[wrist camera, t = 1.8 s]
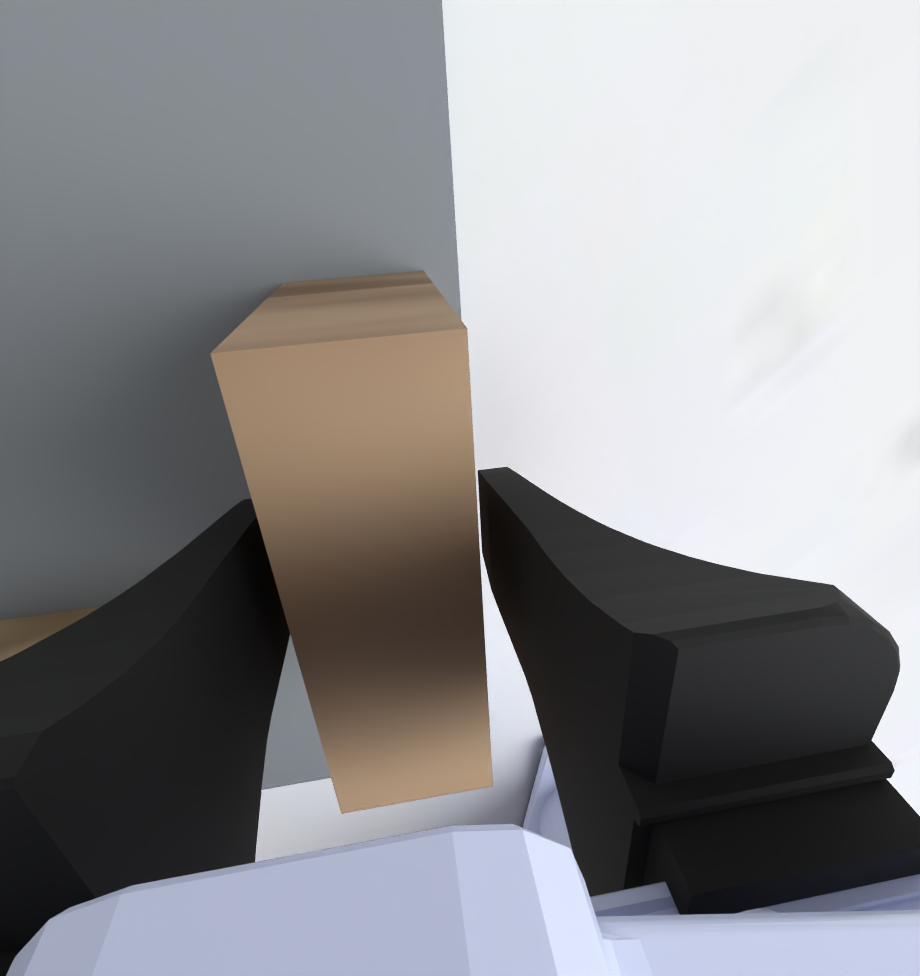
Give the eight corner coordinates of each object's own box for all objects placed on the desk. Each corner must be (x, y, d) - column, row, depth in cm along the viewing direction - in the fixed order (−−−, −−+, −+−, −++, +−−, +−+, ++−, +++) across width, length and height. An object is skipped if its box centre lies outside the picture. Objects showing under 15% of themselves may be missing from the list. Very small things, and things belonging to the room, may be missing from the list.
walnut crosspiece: (452, 594, 16) (493, 786, 11) (350, 609, 16) (341, 813, 11) (424, 270, 12) (466, 328, 7) (283, 283, 11) (211, 353, 6)
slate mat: (485, 740, 20) (487, 750, 20) (-41, 831, 18) (-48, 843, 18) (433, -81, 9) (436, -91, 9) (-816, -52, 8) (-874, -65, 7)
